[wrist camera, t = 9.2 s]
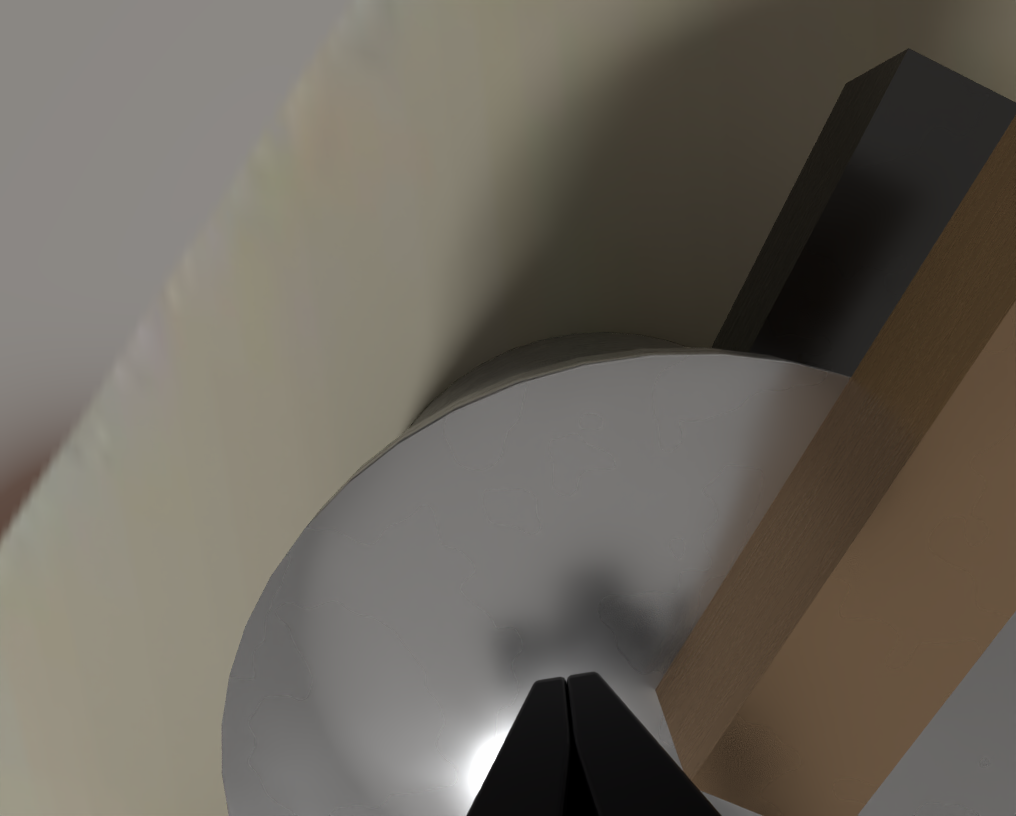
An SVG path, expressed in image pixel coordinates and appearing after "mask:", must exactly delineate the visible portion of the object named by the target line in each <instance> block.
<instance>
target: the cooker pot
mask: <svg viewBox="0 0 1016 816" xmlns="http://www.w3.org/2000/svg"><path fill="white" fill-rule="evenodd" d="M1015 115H1016V103H1015V102H1013V101H1011V100H1009V99H1008V98H1006V97H1004V96H1002V95H1000V94H998V93H996V92H994V91H992V90H990V89H988V88H986V87H984V86H982V85H980V84H978V83H976V82H974V81H972V80H970V79H968V78H966V77H964V76H962V75H960V74H958V73H956V72H954V71H952V70H950V69H948V68H946V67H944V66H942V65H940V64H938V63H936V62H934V61H932V60H930V59H928V58H927V57H925V56H923V55H921V54H919V53H917V52H915V51H913V50H911V49H909V48H908V49H907V50H905V51H903V52H901V53H900V54H898V55H896V56H894V57H892V58H891V59H889V60H887V61H885V62H884V63H882V64H880V65H878V66H876V67H875V68H873V69H871V70H869V71H868V72H866V73H864V74H862V75H860V76H859V77H857V78H855V79H853V80H852V81H850V82H848V83H846V85H845V87H844V89H843V90H842V92H841V94H840V96H839V98H838V100H837V102H836V104H835V106H834V108H833V110H832V112H831V114H830V116H829V118H828V120H827V122H826V124H825V126H824V128H823V130H822V132H821V134H820V136H819V138H818V140H817V142H816V143H815V145H814V147H813V149H812V151H811V153H810V155H809V157H808V159H807V161H806V163H805V165H804V167H803V169H802V171H801V173H800V175H799V177H798V179H797V181H796V183H795V185H794V187H793V189H792V191H791V193H790V195H789V196H788V198H787V200H786V202H785V204H784V206H783V208H782V210H781V212H780V214H779V216H778V218H777V220H776V222H775V224H774V226H773V228H772V230H771V232H770V234H769V236H768V238H767V240H766V242H765V244H764V246H763V247H762V249H761V251H760V253H759V255H758V257H757V259H756V261H755V263H754V265H753V267H752V269H751V271H750V273H749V275H748V277H747V279H746V281H745V283H744V285H743V287H742V289H741V291H740V293H739V295H738V297H737V299H736V300H735V302H734V304H733V306H732V308H731V310H730V312H729V314H728V316H727V318H726V320H725V322H724V324H723V326H722V328H721V330H720V332H719V334H718V336H717V338H716V340H715V342H714V344H713V346H712V348H714V349H723V350H731V351H740V352H749V353H757V354H766V355H771V356H775V357H778V358H782V359H786V360H790V361H794V362H798V363H802V364H806V365H810V366H814V367H817V368H821V369H825V370H829V371H832V372H835V373H839V374H842V375H845V376H848V377H852V375H853V374H854V372H855V370H856V369H857V367H858V366H859V364H860V362H861V361H862V359H863V358H864V356H865V354H866V353H867V351H868V350H869V348H870V346H871V345H872V343H873V342H874V340H875V339H876V337H877V335H878V334H879V332H880V331H881V329H882V327H883V326H884V324H885V323H886V321H887V319H888V318H889V316H890V315H891V313H892V311H893V310H894V308H895V307H896V305H897V303H898V302H899V300H900V299H901V297H902V295H903V294H904V292H905V291H906V289H907V288H908V286H909V284H910V283H911V281H912V280H913V278H914V276H915V275H916V273H917V272H918V270H919V268H920V267H921V265H922V264H923V262H924V260H925V259H926V257H927V256H928V254H929V252H930V251H931V249H932V248H933V246H934V244H935V243H936V241H937V240H938V238H939V236H940V235H941V233H942V232H943V230H944V229H945V227H946V225H947V224H948V222H949V221H950V219H951V217H952V216H953V214H954V213H955V211H956V209H957V208H958V206H959V205H960V203H961V201H962V200H963V198H964V197H965V195H966V193H967V192H968V190H969V189H970V187H971V185H972V184H973V182H974V181H975V179H976V178H977V176H978V174H979V173H980V171H981V170H982V168H983V166H984V165H985V163H986V162H987V160H988V158H989V157H990V155H991V154H992V152H993V150H994V149H995V147H996V146H997V144H998V142H999V141H1000V139H1001V138H1002V136H1003V134H1004V133H1005V131H1006V130H1007V128H1008V126H1009V125H1010V123H1011V122H1012V120H1013V119H1014V117H1015ZM640 348H687V347H685V346H682V345H679V344H676V343H673V342H670V341H667V340H662V339H657V338H652V337H647V336H643V335H638V334H624V333H611V332H599V333H582V334H571V335H565V336H560V337H555V338H550V339H544V340H540V341H537V342H534V343H531V344H528V345H525V346H522V347H519V348H516V349H513V350H510V351H508V352H506V353H504V354H502V355H499V356H497V357H495V358H493V359H491V360H489V361H487V362H485V363H483V364H481V365H479V366H478V367H476V368H475V369H473V370H472V371H470V372H469V373H467V374H466V375H464V376H463V377H461V378H460V379H458V380H457V381H455V382H454V383H453V384H452V385H451V386H449V387H448V388H447V389H446V390H445V391H444V392H442V393H441V394H440V395H439V396H438V397H437V398H435V399H434V400H433V401H432V402H431V403H430V404H429V405H428V407H427V408H426V409H425V410H424V411H423V412H422V413H421V415H420V416H419V417H418V418H417V419H416V420H415V421H414V423H413V424H412V425H411V426H410V428H411V427H413V426H415V425H416V424H418V423H420V422H421V421H423V420H425V419H426V418H428V417H430V416H432V415H433V414H435V413H437V412H438V411H440V410H442V409H443V408H445V407H447V406H448V405H450V404H452V403H454V402H455V401H457V400H459V399H461V398H463V397H465V396H468V395H470V394H472V393H475V392H477V391H480V390H482V389H484V388H487V387H489V386H491V385H494V384H496V383H498V382H501V381H503V380H505V379H508V378H510V377H512V376H515V375H517V374H521V373H525V372H528V371H532V370H535V369H539V368H542V367H546V366H550V365H553V364H557V363H560V362H564V361H567V360H571V359H574V358H579V357H585V356H592V355H599V354H606V353H613V352H620V351H627V350H633V349H640ZM410 428H409V429H410Z"/></svg>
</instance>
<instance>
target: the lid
mask: <svg viewBox="0 0 1016 816" xmlns="http://www.w3.org/2000/svg"><path fill="white" fill-rule="evenodd" d="M592 671H594V672H597V673H598V674H600V676H601V677H602V678H603V679H604V680H605V681H606V682H607V684H608V685H609V686H610V687H611V688H612V689H613V690H614V692H615V693H616V694H617V695H618V696H619V697H620V699H621V700H622V701H623V702H624V703H625V704H626V705H627V707H628V708H629V709H630V710H631V711H632V712H633V714H634V715H635V716H636V717H637V718H638V719H639V721H640V722H641V723H642V724H643V725H644V726H645V727H646V729H647V730H648V731H649V732H650V733H651V734H652V736H653V737H654V738H655V739H656V740H657V741H658V742H659V744H660V745H661V746H662V747H663V748H664V749H665V751H666V752H667V753H668V754H669V755H670V756H671V758H672V759H673V760H674V761H675V762H676V763H677V764H678V766H679V767H680V768H681V769H682V770H683V771H684V773H685V774H686V775H687V776H688V777H689V778H690V779H691V781H692V782H693V783H694V784H695V785H696V786H697V788H698V789H699V790H700V791H701V792H702V793H703V795H704V796H705V797H706V798H707V799H708V800H709V801H710V803H711V804H712V805H713V806H714V807H715V808H716V810H717V811H718V812H719V813H720V814H721V815H722V816H1016V115H1015V117H1014V119H1013V120H1012V122H1011V123H1010V125H1009V126H1008V128H1007V130H1006V131H1005V133H1004V134H1003V136H1002V138H1001V139H1000V141H999V142H998V144H997V146H996V147H995V149H994V150H993V152H992V154H991V155H990V157H989V158H988V160H987V162H986V163H985V165H984V166H983V168H982V170H981V171H980V173H979V174H978V176H977V178H976V179H975V181H974V182H973V184H972V185H971V187H970V189H969V190H968V192H967V193H966V195H965V197H964V198H963V200H962V201H961V203H960V205H959V206H958V208H957V209H956V211H955V213H954V214H953V216H952V217H951V219H950V221H949V222H948V224H947V225H946V227H945V229H944V230H943V232H942V233H941V235H940V236H939V238H938V240H937V241H936V243H935V244H934V246H933V248H932V249H931V251H930V252H929V254H928V256H927V257H926V259H925V260H924V262H923V264H922V265H921V267H920V268H919V270H918V272H917V273H916V275H915V276H914V278H913V280H912V281H911V283H910V284H909V286H908V288H907V289H906V291H905V292H904V294H903V295H902V297H901V299H900V300H899V302H898V303H897V305H896V307H895V308H894V310H893V311H892V313H891V315H890V316H889V318H888V319H887V321H886V323H885V324H884V326H883V327H882V329H881V331H880V332H879V334H878V335H877V337H876V339H875V340H874V342H873V343H872V345H871V346H870V348H869V350H868V351H867V353H866V354H865V356H864V358H863V359H862V361H861V362H860V364H859V366H858V367H857V369H856V370H855V372H854V374H853V375H852V377H848V376H845V375H842V374H839V373H835V372H832V371H829V370H825V369H821V368H817V367H814V366H810V365H806V364H802V363H798V362H794V361H790V360H786V359H782V358H778V357H775V356H771V355H766V354H757V353H749V352H740V351H731V350H723V349H714V348H706V347H699V348H640V349H633V350H627V351H620V352H613V353H606V354H599V355H592V356H585V357H579V358H574V359H571V360H567V361H564V362H560V363H557V364H553V365H550V366H546V367H542V368H539V369H535V370H532V371H528V372H525V373H521V374H517V375H515V376H512V377H510V378H508V379H505V380H503V381H501V382H498V383H496V384H494V385H491V386H489V387H487V388H484V389H482V390H480V391H477V392H475V393H472V394H470V395H468V396H465V397H463V398H461V399H459V400H457V401H455V402H454V403H452V404H450V405H448V406H447V407H445V408H443V409H442V410H440V411H438V412H437V413H435V414H433V415H432V416H430V417H428V418H426V419H425V420H423V421H421V422H420V423H418V424H416V425H415V426H413V427H411V428H410V429H408V430H406V431H405V432H404V433H403V434H401V435H400V436H399V437H398V438H396V439H395V440H394V441H393V442H391V443H390V444H389V445H387V446H386V447H385V448H384V449H382V450H381V451H380V452H379V453H377V454H376V455H375V456H374V457H372V458H371V459H370V460H368V461H367V462H366V463H365V464H363V465H362V466H361V467H360V468H359V469H358V470H357V471H356V472H355V473H354V474H353V475H352V476H351V477H350V479H349V480H348V481H347V482H346V483H345V484H344V485H343V486H342V487H341V488H340V489H339V490H338V491H337V492H336V493H335V494H334V495H333V496H332V497H331V498H330V499H329V500H328V502H327V503H326V504H325V505H324V506H323V507H322V508H321V509H320V511H319V512H318V513H317V514H316V516H315V517H314V518H313V519H312V521H311V522H310V523H309V524H308V526H307V527H306V528H305V529H304V531H303V532H302V533H301V535H300V536H299V538H298V539H297V540H296V542H295V543H294V545H293V546H292V547H291V549H290V550H289V552H288V553H287V554H286V556H285V557H284V559H283V560H282V561H281V563H280V564H279V566H278V567H277V568H276V570H275V571H274V573H273V574H272V575H271V577H270V579H269V581H268V583H267V585H266V587H265V589H264V591H263V593H262V595H261V597H260V599H259V601H258V603H257V605H256V606H255V608H254V610H253V612H252V614H251V616H250V618H249V620H248V622H247V624H246V626H245V629H244V632H243V636H242V639H241V642H240V645H239V648H238V651H237V654H236V657H235V660H234V663H233V666H232V670H231V673H230V676H229V682H228V688H227V695H226V701H225V708H224V714H223V720H222V777H223V783H224V789H225V795H226V801H227V807H228V813H229V816H466V815H467V813H468V811H469V809H470V807H471V805H472V803H473V801H474V799H475V797H476V795H477V793H478V791H479V789H480V788H481V786H482V784H483V782H484V780H485V778H486V776H487V774H488V772H489V770H490V768H491V766H492V764H493V762H494V760H495V758H496V756H497V754H498V752H499V750H500V748H501V746H502V744H503V742H504V740H505V738H506V736H507V734H508V732H509V730H510V728H511V726H512V725H513V723H514V721H515V719H516V717H517V715H518V713H519V711H520V709H521V707H522V705H523V703H524V701H525V699H526V697H527V695H528V693H529V691H530V689H531V687H532V685H533V683H534V682H535V681H537V680H541V679H547V678H554V677H563V678H565V680H566V682H567V678H568V677H569V676H570V675H573V674H579V673H585V672H592Z"/></svg>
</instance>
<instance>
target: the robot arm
mask: <svg viewBox="0 0 1016 816" xmlns="http://www.w3.org/2000/svg"><path fill="white" fill-rule="evenodd" d="M466 816H722V815H721V814H720V813H719V812H718V811H717V810H716V808H715V807H714V806H713V805H712V804H711V803H710V801H709V800H708V799H707V798H706V797H705V796H704V795H703V793H702V792H701V791H700V790H699V789H698V788H697V786H696V785H695V784H694V783H693V782H692V781H691V779H690V778H689V777H688V776H687V775H686V774H685V773H684V771H683V770H682V769H681V768H680V767H679V766H678V764H677V763H676V762H675V761H674V760H673V759H672V758H671V756H670V755H669V754H668V753H667V752H666V751H665V749H664V748H663V747H662V746H661V745H660V744H659V742H658V741H657V740H656V739H655V738H654V737H653V736H652V734H651V733H650V732H649V731H648V730H647V729H646V727H645V726H644V725H643V724H642V723H641V722H640V721H639V719H638V718H637V717H636V716H635V715H634V714H633V712H632V711H631V710H630V709H629V708H628V707H627V705H626V704H625V703H624V702H623V701H622V700H621V699H620V697H619V696H618V695H617V694H616V693H615V692H614V690H613V689H612V688H611V687H610V686H609V685H608V684H607V682H606V681H605V680H604V679H603V678H602V677H601V676H600V674H598V673H597V672H594V671H592V672H585V673H579V674H573V675H570V676H569V677H568V678H567V682H566V680H565V678H563V677H554V678H547V679H541V680H537V681H535V682H534V683H533V685H532V687H531V689H530V691H529V693H528V695H527V697H526V699H525V701H524V703H523V705H522V707H521V709H520V711H519V713H518V715H517V717H516V719H515V721H514V723H513V725H512V726H511V728H510V730H509V732H508V734H507V736H506V738H505V740H504V742H503V744H502V746H501V748H500V750H499V752H498V754H497V756H496V758H495V760H494V762H493V764H492V766H491V768H490V770H489V772H488V774H487V776H486V778H485V780H484V782H483V784H482V786H481V788H480V789H479V791H478V793H477V795H476V797H475V799H474V801H473V803H472V805H471V807H470V809H469V811H468V813H467V815H466Z"/></svg>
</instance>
